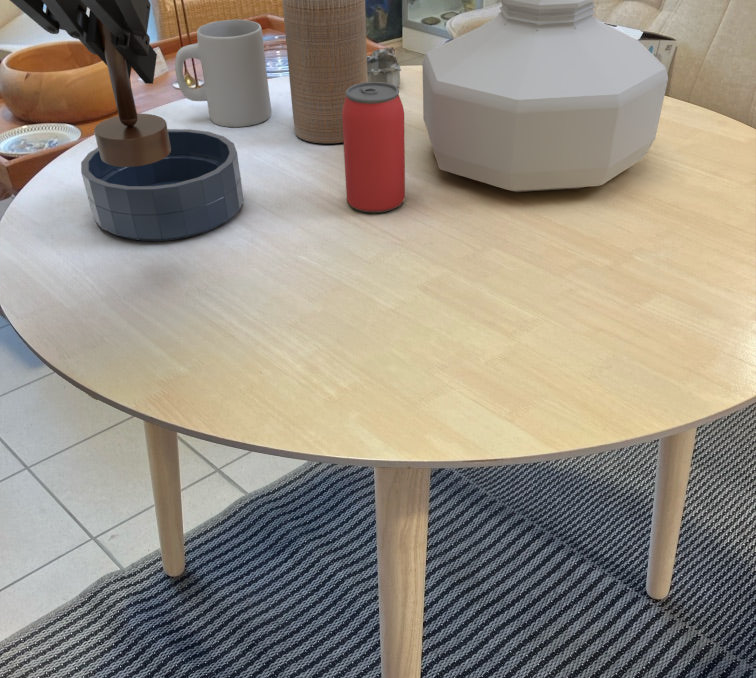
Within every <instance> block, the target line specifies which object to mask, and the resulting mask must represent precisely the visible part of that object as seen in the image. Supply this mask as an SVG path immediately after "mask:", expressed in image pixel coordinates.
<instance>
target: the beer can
mask: <svg viewBox="0 0 756 678" xmlns="http://www.w3.org/2000/svg"><path fill="white" fill-rule="evenodd" d="M399 94H400V89H399V87H396V86H394V85H392V84H389V83H384V82H365V83H359V84H356V85H353V86H351V87H349V88H348V89H347V91H346V98H345V101H344V105H343V110H342V123H343V141H344V143H343V156H344V157H343V158H344V159H343V160H344V173H345V175H344V176H345V192H346V193H345V195H346V201H347V203H348V204H349V205H350V206H351V207H352V208H353V209H355V210H357V211H359V212H363V213H370V214H377V213H386V212H390V211H392V210H394V209H397V208H398V207H400V206H401V205H402V204H403V202H404V200H405V197H406V167H405V166H406V165H405V164H406V157H405V156H406V155H405V153H406V151H405V147H406V146H405V140H406V139H405V110H404V105H403V102H402V100H401V97H400V95H399Z"/></svg>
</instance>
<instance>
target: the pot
mask: <svg viewBox="0 0 756 678" xmlns="http://www.w3.org/2000/svg"><path fill="white" fill-rule="evenodd" d="M595 1H596V0H501V1H500V3H501V6H500V7H499V10H500V12H498V13H497V16H496V17H494V18H492V19H491V20H489V21H487V22H485V23H484V24H482V25H480V26H479V27H476V28H475V29H472V30H470V31H468V32H466V33H463V34H462V35H460V36H459V35H458V36H457V37H455V38H452V39H451V40H449V41H447V42H445V43H442V44H441V45H438V46H436V47H434V48H432V49H430V50H428V51H426V53H425V55H424V57H423V60H422V116H423V123H424V125H425V128H426V132H427V135H428V138H429V141H430V145H431V147H432V151H433V154H434V157H435V160H436V163H437V166H438V169H439V170H440V171H444V172H447V173H451V174H454V175H457V176H460V177H464V178H467V179H469V180H473V181H477V182H480V183H482V184H483V183H484V184H487V185H490V186H494V187H497V188H500V189H503V190H507V191H509V192H514V193H527V192H530V193H531V192H544V191H545V192H546V191H561V190H578V189H583V188H585V187H600V186H603V185H605V184H606V183H607V182H610V181H611V180H613V178H615V177H617V176H619V175H620V174H621V173H623V172H624V171H626V170H628V169H630V168H631V167H632V166H633V165H635V164H637V163H638V162H640V161H642V160H643V159H644V158H645V157H646V156H647V154H648V152H649V150H650V149H651V147H652V145H653V144H654V142H655V140H656V137H657V132H658V129H659V124H660V123H659V122H660V119H661V114H662V108H663V106H664V100H665V95H666V90H667V85H668V81H669V76H668V71H667V67H666V66H665V65H664V64H663V63H662V62H661V61H660V60H659V59H658V58H657V57H656V56H655V55H654V54H653V53H652V52H651V51H650V50H649V49H647V47H646V46H645V45H643V44H642V42H641V41H640V40H638V39H637V38H634V37H632V36H631V35H628V34H626V33H625V32H622V31H621V30H618V29H617V28H614V27H613V26H610V25H608V24H607V23H604V22H602V21H601V20H599V19H597V18H596V17H595V16H594V15H595V14H596V12H595V10H594V8H596V5H595V4H594V2H595Z"/></svg>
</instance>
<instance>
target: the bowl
mask: <svg viewBox="0 0 756 678" xmlns="http://www.w3.org/2000/svg"><path fill="white" fill-rule="evenodd" d="M167 129H168V134H169V139H170V145H171V152H170V154H169V155H168V156H167V157H165V158H164V159H162V160H160V161H157V162H154V163H151V164H147V165H142V166H135V167H119V166H113V165H109V164H107V163H105V162H103V161H102V160H101V157H100V153H99V149H98V147H96V148H95V149H93V150H91V151H90V152H88V153H87V155H86V156H85V157H84V158H83V160H82V161H81V162H80V172H81V173H80V174H81V177H82V181H83V185H84V187H85V188H84V189H85V191H86V195H87V199H88V203H89V207H90V210H91V214H92V217H93V220H94V222H96V224H97V225H98V226H99V227H100V228H101V229H102V230H104V231H106V232H109V233H111V234H112V235H115V236H119V237H122V238H125V239H129V240H133V241H141V242H164V241H165V242H167V241H175V240H182V239H188V238H190V237H195V236H198V235H201V234H205V233H207V232H210V231H212V230H215V229H216V228H218V227H220V226H222V225H224V224H225V223H226V222H228V221H229V220H231V219H232V218H233V217H234V216H235V215H236V214H237V213H238V212H240V210H241V207H242V206H243V204H244V200H245V199H244V191H243V185H242V178H241V171H240V163H239V157H238V151H237V148H236V145H235V143H234V142H232V141H231V140H230V139H228V138H227V137H225V136H223V135H220V134H217V133H214V132H212V131H211V132H210V131H206V130H198V129H197V130H196V129H191V128H190V129H189V128H188V129H187V128H181V129H179V128H176V129H169V128H167Z"/></svg>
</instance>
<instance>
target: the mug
mask: <svg viewBox="0 0 756 678" xmlns="http://www.w3.org/2000/svg"><path fill="white" fill-rule="evenodd" d="M263 36H264V35H263V29H262V26H261V24H260V23H258V22H257V21H253V20H248V19H224V20H216V21H212V22H208V23H206V24H203V25H201V26H199V27H198V28H197V30H196V38H197V39H196V40H197V42H195V43H192V44H191V43H190V44H188V45H184V46H182V47H181V48H180V49H178V51H177V52H176V55H175V62H174V70H175V78H176V82H177V84H178V87H179V90H180V92H181V93H182V95H183V97H185V98H186V99H187V100H189V101H193V102H207V108H208V109H207V110H208V115H209V116H208V117H209V119H210V122H212V123H213V124H215V125H218V126H219V127H227V128H244V127H251V126H255V125H258V124H262V123H264V122H265V121H268V119H269V118H270V117H271V115H272V104H271V97H270V89H269V88H270V87H269V82H268V81H269V80H268V72H267V64H266V63H267V61H266V54H265V45H264V37H263ZM188 59H196V60H198V61H200V64H201V71H202V76H203V85H201V87H198V88H197V87H196V88H191V87H189V85H187V82H186V80H185V77H184V64H185V62H186V61H187V60H188Z"/></svg>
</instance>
